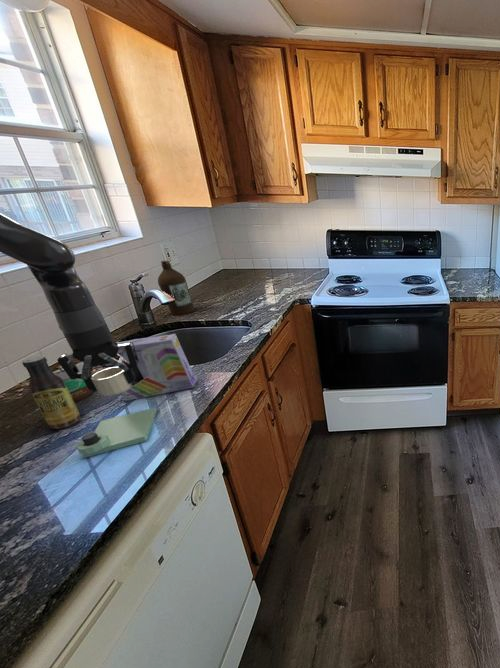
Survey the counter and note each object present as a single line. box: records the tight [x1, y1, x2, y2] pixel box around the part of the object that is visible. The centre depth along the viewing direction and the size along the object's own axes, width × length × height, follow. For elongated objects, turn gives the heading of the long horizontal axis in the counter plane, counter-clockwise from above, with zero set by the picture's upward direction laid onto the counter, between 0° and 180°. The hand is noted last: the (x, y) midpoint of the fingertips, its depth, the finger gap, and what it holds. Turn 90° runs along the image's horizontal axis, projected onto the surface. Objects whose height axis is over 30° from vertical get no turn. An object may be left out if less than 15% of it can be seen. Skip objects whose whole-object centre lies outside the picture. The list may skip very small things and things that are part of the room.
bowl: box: [91, 367, 132, 397], centre depth 91 cm, size 6×6×5 cm
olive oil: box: [157, 259, 195, 316], centre depth 172 cm, size 11×11×25 cm
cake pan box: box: [104, 333, 197, 402], centre depth 109 cm, size 19×5×18 cm, turn 109°
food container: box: [52, 361, 93, 403], centre depth 109 cm, size 12×6×10 cm, turn 159°
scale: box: [76, 407, 157, 458], centre depth 94 cm, size 13×15×3 cm
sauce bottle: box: [21, 355, 81, 430], centre depth 95 cm, size 7×6×20 cm
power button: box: [81, 431, 100, 446], centre depth 88 cm, size 3×3×2 cm
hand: (114, 385), depth 92 cm, fingers closed on bowl, 6 cm apart
